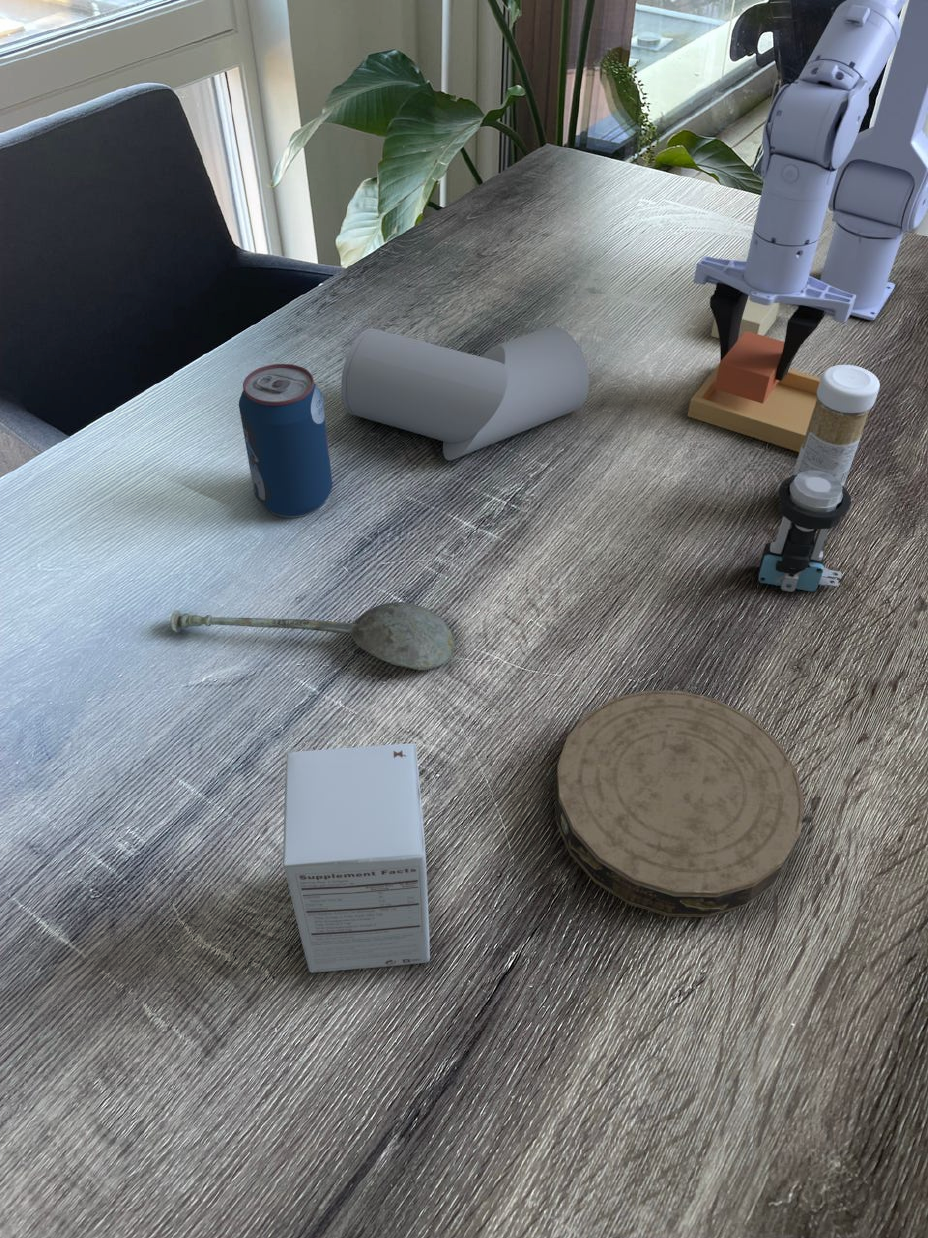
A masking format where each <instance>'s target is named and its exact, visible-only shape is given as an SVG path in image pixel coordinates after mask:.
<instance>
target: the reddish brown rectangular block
mask: <svg viewBox="0 0 928 1238" xmlns="http://www.w3.org/2000/svg"><path fill="white" fill-rule="evenodd" d="M784 342H785V341H783V340H780V339H777V338H773V337H769V336H765V335H764V336H762V335H759V334H755V333H752V332H748V331H745V332H744V333H743V334H742V335H741V337H740V338H739V339H738V340H737V342H736V343H735V344H734V345H733V347H732V348H731V349H730V350H729V352H728V353H727V354H726V355H725V357H724V358H723V359H722V360H721V362H719V363H720V364H719V363H718V365H719V369H718V373H717V378H716V383H715V387H714V389H717V390H720V391H723V392H727V393H730V394H733V395H736V396H740V397H743V398H746V399H749V400H753V401H756V402H759V403H764V401H765V400H766V399H767V397H768V396H769V394H770V393H771V391H772V390H773V389H774V387H775V386H776V384H777V383H778V382H779V380H776V379H775V377H776V371H777V367H778V364H779V361H780V358H781V355H782V352H783V347H784Z"/></svg>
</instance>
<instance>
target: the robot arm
mask: <svg viewBox="0 0 928 1238" xmlns="http://www.w3.org/2000/svg"><path fill="white" fill-rule="evenodd" d="M907 1H908V3H907ZM906 3H907V6H906V10H905V14H904V17H903V21H902V25H901V23H900V22H901V21H900V19H899V16H898V15H899V13H900V12H901V11H902V9H903V8H904V6H905V4H906ZM893 51H894V52H893ZM892 53H893V57H892V61H891V63H890V67H889V71H888V74H887V78H886V81H885V85H884V89H883V93H882V95H881V99H880V103H879V107H878V110H877V114H876V117H875V120H874V124H873V126H872V127H869V128H867V129H865V130H863V131H860V128H861V125H862V122H863V120H864V117H865V116H866V114H867V110H868V108H869V105H870V104H869V100H870V96H869V95H870V93H871V92H872V90H873V88H874V87H875V84H876V83H877V81H878V79H879V77H880V75H881V74H882V71H883V69H884V68H885V65H886V64H887V62H888V60H889V59H890V57H891V54H892ZM927 116H928V0H845V1H842V2H841V3H840V4H839V5H838V6H837V7H836V9H835V11H834V13H833V15H832V16H831V18H830V20H829V22H828V24H827V25H826V27H825V28H824V30H823V33H822V34H821V36H820V38H819V39H818V42H817V43H816V45H815V48H814V49H813V51H812V53H811V55H810V57H809V58H808V60H807V62H806V63H805V65H804V67H803V69H802V70H801V72H800V75H799V76H798V78H796V79H795V80H794V82H792V83H790V84H789V83H786V84H784V85H783V86H781V87H780V88H779V90H778V91H777V93H776V95H775V96H774V98H773V101H772V103H771V105H770V107H769V109H768V113H767V116H766V119H765V123H764V126H763V131H762V137H761V138H762V139H761V140H762V161H761V165H760V174H761V175H762V177H764V180H763V184H762V189H761V193H760V198H759V202H758V207H757V211H756V216H755V221H754V226H753V230H752V235H751V238H750V243H749V249H748V253H747V258H746V261H745V260H738V259H737V260H736V259H728V258H727V259H726V258H717V257H714V256H713V257H712V256H708V255H704V256H703V257H702V258H701V259H700V260H699V261H698V262H697V263H696V267H695V272H694V278H693V283H694V284H697V285H700V286H703V285H704V286H705V285H706V284H711V285H714V286H715V289H714V291H713V294H712V295H711V296H710V298H709V308H710V310H711V312H712V315H713V317H714V319H715V321H716V324H717V328H718V333H719V338H718V340H719V352H720V359H719V360H720V362H721V360H722V359H723V358H724V357H725V355H726V354H727V353H728V352H729V350H730V349H731V348H732V347H733V345H734V344H735V343H736V342H737V340H738V336H739V330H740V324H741V320H742V316H743V313H744V309H745V306H746V303H747V300H748V296H749V295H750V298H749V300H750V301H752V302H755V303H759V304H762V305H771V304H772V303H773V302H774V303H780V304H784V305H788V306H792V307H795V308H797V309H796V310H795V311H794V312H793V313H792V315H791V316H790V317H789V319H788V320H787V324H786V331H785V338H784V341H783V342H784V347H783V352H782V355H781V358H780V361H779V364H778V367H777V371H776V377H775V379H776V380H779V381H782V380H783V378H784V377H785V375H786V374H787V372H788V370H789V369H790V367H791V366H792V362H793V361H794V358H795V357H796V355H797V353H798V352H799V350H800V348H801V346H802V345H803V344H804V343H805V342H806V340H807V339H808V338H809V337H810V336H811V335H812V334H813V333H814V332H815V330H817V328H818V326H819V325H820V323H821V322H822V321H823V319H824V317H825V316H829V317H832V320H833V321H834V322H837V323H841V324H845V323H846V322H847V321H848V320H849V317H850V316H853V317H856V318H860V319H864V320H868V321H874V320H875V319H876V318H877V317H878V315H879V313H880V311H881V310H882V308H883V307H884V305H885V304H886V302H887V300H888V299H889V297H890V296H891V294H892V293H893V291H894V290H895V287H896V284H895V283H894V282H890V281H889V278H890V276H891V272H892V269H893V266H894V263H895V260H896V257H897V255H898V252H899V248H900V245H901V241H902V238H903V236H904V233H910V232H911V231H913V230H915V229H916V228H918V226H919V225H920V224H921V223H922V221H923V219H924V217H925V216H926V214H927V211H928V137H927V135H926V134H925V133H924V130H923V128H924V125H925V122H926V119H927ZM859 131H860V132H859ZM827 210H829V211H830V212H832V213H833V215H832V218H831V221H832V222H834V223H835V225H834V228H833V232H832V236H831V240H830V243H829V247H828V249H827V253H826V258H825V261H824V265H823V268H822V271H821V275H820V279H817V278H815V277H813V276H811V275H810V274H811V269H812V266H813V262H814V259H815V255H816V251H817V247H818V244H819V240H820V237H821V233H822V230H823V226H824V222H825V218H826V214H827ZM720 362H719V363H720Z"/></svg>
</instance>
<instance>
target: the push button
mask: <svg viewBox="0 0 928 1238" xmlns="http://www.w3.org/2000/svg"><path fill="white" fill-rule="evenodd" d="M778 499H779V502H778V505H777V507H778V510H779V513H780V514H781V516H782V519H781V522H780V526H779V529H778V532H777V536H776V538H775V541H773V542H766V543H765V544H764V548H763V551H762V554H761V558H760V562H759V569H758V582H759V583H761V584H767V585H773V586H779V587H780V589H781V590H782V591H785V592H790V593H792V592H795V590H800V591H801V590H802V591H806V592H816V591H817V589H818V586H824V587H825V586H831V587H835V588H837V587H839V582H840V581H839V579H843V577H842V575H843V573H842V571H839V570H833V569H829V568H828V567H824V557H825V556H824V552H823V547H824V544H825V540H826V539H827V536H828V533H829V530H830V529H832V528H834V527H837V526H838V525H839V524H840V521H841V519H842V517H844V516H845V515H846V514H847V513H848V512H849V509H850V508H851V504H852V499H851V495H850V493H849V491H848V490H847V489H846V488H845V486H842V484H841V483H840V481H839V480H838V479H837V478H835V477H834V476H832V475H831V474H828V473H825V472H821V471H811V470H808V471H805V472H801V473H799V474H797V475H794V474H792V475H791V476H789V477H787V478H785V479H783V481H782V482H781V484H780V485H779V488H778ZM790 526H791V527H790ZM835 574H836V575H835ZM831 582H833V583H831Z"/></svg>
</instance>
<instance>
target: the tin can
mask: <svg viewBox="0 0 928 1238" xmlns="http://www.w3.org/2000/svg"><path fill="white" fill-rule="evenodd" d="M553 793H554V807H555V809H554V811H555V823H556V826H557V828H558V830H559V833H560V835H561V837H562V840H563V842H564V844H565V846H566V849H567V851H568V853H569V855H570V856H571V857H572V859H573V860H574V861H575V862H576V863H577V865H578V866H580V868H581V869H582V870H583V871H584V872H585V873H586V875H587V876H588V877H589V878H590V879H591V880H592V881H593V882H594V884H596V885H597V886H599V887H601V888H603V889H604V890H605V891H607V892H609V893H610V894H611V895H614V896H615V897H616V898H618V899H620V900H621V901H623V902H625V903H626V904H627V905H629V906H632V907H636V908H639V909H643V910H647V911H649V912H652V913H655V914H659V915H662V916H665V917H674V918H675V917H676V918H677V917H679V918H681V917H682V918H712V917H714V916H717V915H721V914H724V913H728V912H731V911H735V910H738V909H741V908H744V907H745V908H746V906H748V905H749V904H751V903H752V902H753V901H755V900H756V899H757V898H759V897H760V896H761V895H763V894H764V893H765V892H767V891H768V890H770V889H771V888H772V887H773V886H774V885H775V883H776V881H777V880H778V878H779V876H780V874H781V873H782V872H783V870H784V868H785V866H786V865H787V863H788V861H789V859H790V858H791V856H792V853H793V851H794V849H795V847H796V845H797V843H798V840H799V838H800V836H801V833H802V825H803V818H804V810H805V802H806V800H805V798H804V793H803V789H802V785H801V781H800V778H799V775H798V771H797V768H796V767H795V765H794V763H793V762H792V760H791V759H790V757H789V756H788V755H787V753H786V751H785V750H784V749H783V747H782V745H781V744H780V742H779V740H777V739H776V738H775V737H774V736H773V735H772V734H770V732H769V731H767V730H766V729H765V728H764V727H762V725H760V724H759V723H758V722H757V721H756V720H755V719H753V718H752V716H749V715H748V714H746V713H744V712H742V711H740V710H738V709H736V708H734V707H732V706H730V705H728V704H727V703H724V702H722V701H721V700H719V699H716V698H712V697H708V696H704V695H700V694H696V693H692V692H688V691H684V690H661V689H660V690H657V689H655V690H654V689H646V690H643V691H642V690H641V691H637V692H633V693H630V694H625V695H621V696H617V697H613V698H612V699H610V700H608V701H607V702H604V703H603V704H601V705H599V706H598V707H596V708H595V709H593V710H591V711H589V712H587V713H586V714H585V715H584V717H582V719H581V720H580V721H579V722H578V724H576V726H575V727H574V728H573V729H572V731H570V732H569V734H568V735H567V736H566V740H565V742H564V746H563V748H562V751H561V754H560V757H559V760H558V763H557V768H556V775H555V784H554V791H553Z"/></svg>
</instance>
